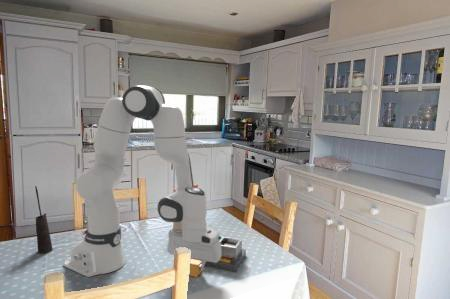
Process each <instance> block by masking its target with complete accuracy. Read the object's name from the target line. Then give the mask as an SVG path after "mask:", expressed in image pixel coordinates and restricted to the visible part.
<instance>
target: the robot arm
mask: <svg viewBox="0 0 450 299" xmlns="http://www.w3.org/2000/svg"><path fill="white" fill-rule="evenodd" d="M165 102H166V101H165V97H164V94H163V93H162V92H161V91H160V90H159V89H158V88H156V87H153V86H150V85H141V84H137V85H133V86H130V87H128V88H127V89H126V90H125V91H124V92H123V95H122V97H120V96H119V97H111V98H108V100H107V101H106V103H105V105H104V107H103V109H102V112H101V114H100V117H99V121H98V124H97V128H96V129H97V130H96V133H95V138H94V140H93V141H94V142H93V148H94V163H93V165H92V166H91V167H89V168H87V169H85V170H84V171H83V172H82V173H81V174H80V175H79V176H78V178H77V179H76V182H75V190H76V192H77V194H78V196H79V197H81V198H82V200H83V203H84V205H85V209H86V216H87V228H86V230H84V231H82V234H81V235H82V236H83V235H84V238H83V239H82V240H81V241H79V242H78V243H77V244H75V245H74V246H73V247H72V249H71V252H70V257H68V258H66V260H65V261H64V263H63V266H64V267H65V268H67V269H70V270H72V271H74V272H76V273H78V274H80V275H83V276H84V277H87V278H89V277H93V276H96V275H97V276H98V275H103V274H104V275H105V274H109V273H111V272H114V271H115V272H116V271H118V270H119V269H121V268H122V267H123V266H124V265H125V263H126V259H125V257H124V256H125V255H124V253H123V248H122V242H121V240H122V229H121V228H122V227H121V226H120V208H119V206H118V204H117V203H116V200H115V195H114V194H115V193H114V191H115V188H117V187H118V186H119V185H120V184H121V182H122V181H123V178H124V176H125V169H124V168H125V157H126V150H127V147H128V142H129V139H130V135H131V131H132V130H131V129H132V125H133V123H134V121H135V119H136V118H137V119H140V120H141V119H142V120H145V121H150V122H151V123H152V126H153V127H152V128H153V142H154V149H155V153H156V155H157V156H158V157H159V158H160V159H161V160H163V161H164V162H168V163H170V164H171V165H172V167H174V170H175V177H176V184H177V187H176V188H177V190H176V192H174V191H173V193H170V194H167V195H166V196H163V197H162V198H161V199H159V200H158V202H157V208H156V209H157V213H158V216H159V218H161V219H162V221H164V222H166V223H173V222H181V223H182V230H177V229H173V228H172V229H170V230H169V231H168V242H167V243H168V244H167V252H168V253H169V254H170V255H175V254H174V251H175V249H176V248H179V247H186V248H188V249H190V250H191V258H194V259H199V260H201V262H202V264H200V265H199V270H201V271H202V272H203V271H204V270H205V266H204V265H205V263H206V262H207V261H209V262H214V263H217V262H218V261H219V260H220V259H221V255H222V252H221V243H220V241H219V239H218V238H219V236H220V232H219V231H217V230H216V229H213V228H211V227H210V226H208V225H207V220H206V217H207V212H208V206H207V196H206V193H205V191H204V190H203V189H201V188H200V187H198V188H197V187H194V184H195V183H194V180H193V179H194V178H193V177H194V176H193V171H192V162H191V158H190V154H189V152H188V148H187V142H186V141H187V140H186V126H185V120H184V116H183V112H182V110H181V109H180V107H178V106H176V105H172V104H166V103H165Z"/></svg>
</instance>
